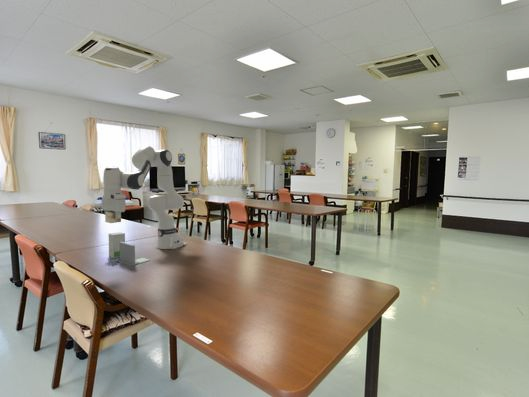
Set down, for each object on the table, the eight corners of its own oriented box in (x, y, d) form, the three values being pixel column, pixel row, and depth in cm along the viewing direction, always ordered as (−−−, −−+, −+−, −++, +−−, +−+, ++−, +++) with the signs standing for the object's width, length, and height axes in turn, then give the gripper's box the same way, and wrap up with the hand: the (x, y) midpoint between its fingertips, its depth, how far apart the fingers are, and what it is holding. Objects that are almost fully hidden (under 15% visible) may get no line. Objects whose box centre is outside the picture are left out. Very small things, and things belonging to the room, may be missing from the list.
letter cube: (115, 220, 173) (115, 210, 173) (121, 221, 170) (120, 211, 169) (105, 222, 168) (105, 211, 168) (110, 223, 165) (110, 212, 164)
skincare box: (113, 258, 185) (112, 235, 184) (108, 256, 189) (107, 233, 187) (126, 256, 192) (125, 233, 190) (121, 254, 196) (120, 231, 194)
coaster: (143, 258, 187) (143, 257, 187) (149, 260, 183) (149, 259, 183) (133, 261, 181) (133, 260, 181) (139, 263, 177) (139, 262, 177)
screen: (124, 259, 185) (124, 240, 183) (138, 263, 176) (137, 244, 175) (116, 261, 180) (116, 242, 179) (130, 266, 172) (130, 246, 171)
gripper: (97, 194, 171) (98, 217, 172) (116, 196, 159) (117, 221, 161) (108, 193, 176) (109, 215, 177) (127, 195, 165) (128, 219, 166)
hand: (113, 218), depth 169 cm, fingers closed on letter cube, 6 cm apart
